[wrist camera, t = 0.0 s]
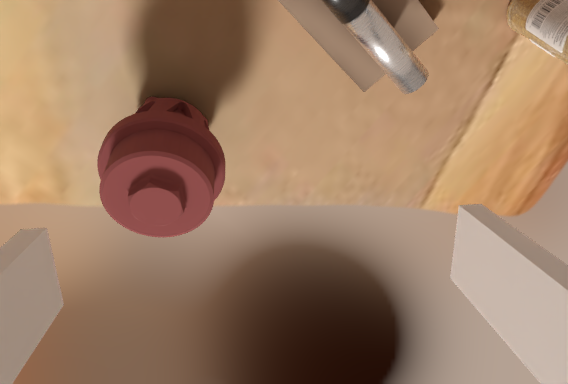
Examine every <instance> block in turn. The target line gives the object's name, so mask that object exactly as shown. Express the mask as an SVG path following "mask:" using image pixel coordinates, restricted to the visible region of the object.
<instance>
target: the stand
mask: <svg viewBox="0 0 568 384" xmlns="http://www.w3.org/2000/svg"><path fill="white" fill-rule="evenodd" d="M278 1H279V2H280V3H281V4H282V5H283V6H284V7H285V8H286V9H287V10H288V12H289V13H290V14H291V15H292V16H293V17H294V18H295V19H296V20H297V21H298V22H299V23H300V24H301V25H302V27H303V28H304V29H305V30H306V31H307V32H308V33H309V34H310V35H311V36H312V37H313V38H314V39H315V40H316V41H317V43H318V44H319V45H320V46H321V47H322V48H323V49H324V50H325V51H326V52H327V53H328V54H329V55H330V56H331V58H332V59H333V60H334V61H335V62H336V63H337V64H338V65H339V66H340V67H341V68H342V69H343V70H344V71H345V73H346V74H347V75H348V76H349V77H350V78H351V79H352V80H353V81H354V82H355V83H356V84H357V85H358V86H359V87H360V89H361V90H362V91H363V92H365V91H366V90H367V89H369V88H370V87H371V86H372V85H373V84H374V83H376V82H377V81H378V80H379V79H380V78H382V77H383V76H384V75H385V74H386V73H385V72H384V71H383V70H382V69H381V67H380V66H379V65H378V64H377V63H376V62H375V61H374V59H373V58H372V57H371V56H370V55H369V54H368V52H367V51H366V50H365V49H364V48H363V47H362V46H361V44H360V43H359V42H358V41H357V40H356V39H355V38H354V36H353V35H352V34H351V33H350V32H349V31H348V29H347V28H346V27H345V26H344V25H343V24H341V23H340V21H339V20H338V19H337V18H336V17H335V16H334V14H333V13H332V12H331V11H330V10H329V9H328V8H327V6H326V5H325V4H324V3H323V2H322V1H321V0H278ZM372 1H373V2H374V4H375V5H376V6H377V7H378V9H379V10H380V11H381V12H382V14H383V15H384V16H385V17H386V19H387V20H388V21H389V23H390V24H391V25H392V26H393V28H394V29H395V30H396V31H397V33H398V34H399V35H400V36H401V38H402V39H403V40H404V41H405V43H406V44H407V45H408V47H409V48H410V49H411V50H412V51H413V50H415V49H416V48H417V47H418V46H419V45H421V44H422V43H423V42H424V41H425V40H426V39H428V38H429V37H430V36H431V35H432V34H434V33H435V32H436V31H437V30H438V29H439V28H438V27H437V25H436V24H435V23H434V21H433V20H432V18H431V17H430V16H429V14H428V13H427V11H426V10H425V9H424V7H423V6H422V5H421V3H420V2H419V0H372Z"/></svg>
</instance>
